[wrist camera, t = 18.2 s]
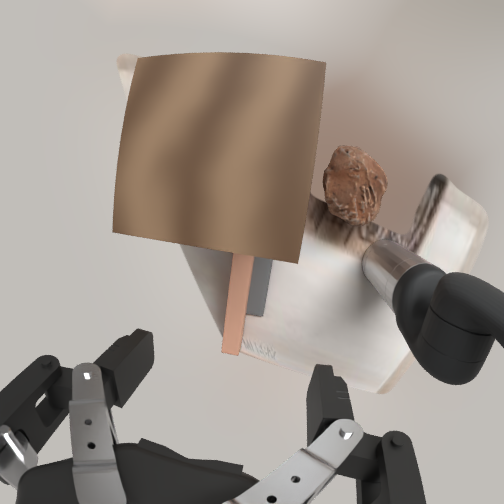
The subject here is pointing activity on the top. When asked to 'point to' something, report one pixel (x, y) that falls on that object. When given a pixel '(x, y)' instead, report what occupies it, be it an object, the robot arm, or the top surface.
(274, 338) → the top surface
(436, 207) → the top surface
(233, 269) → the tan wooden bar
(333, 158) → the decorative rock
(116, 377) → the robot arm
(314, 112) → the stand
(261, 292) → the mat
